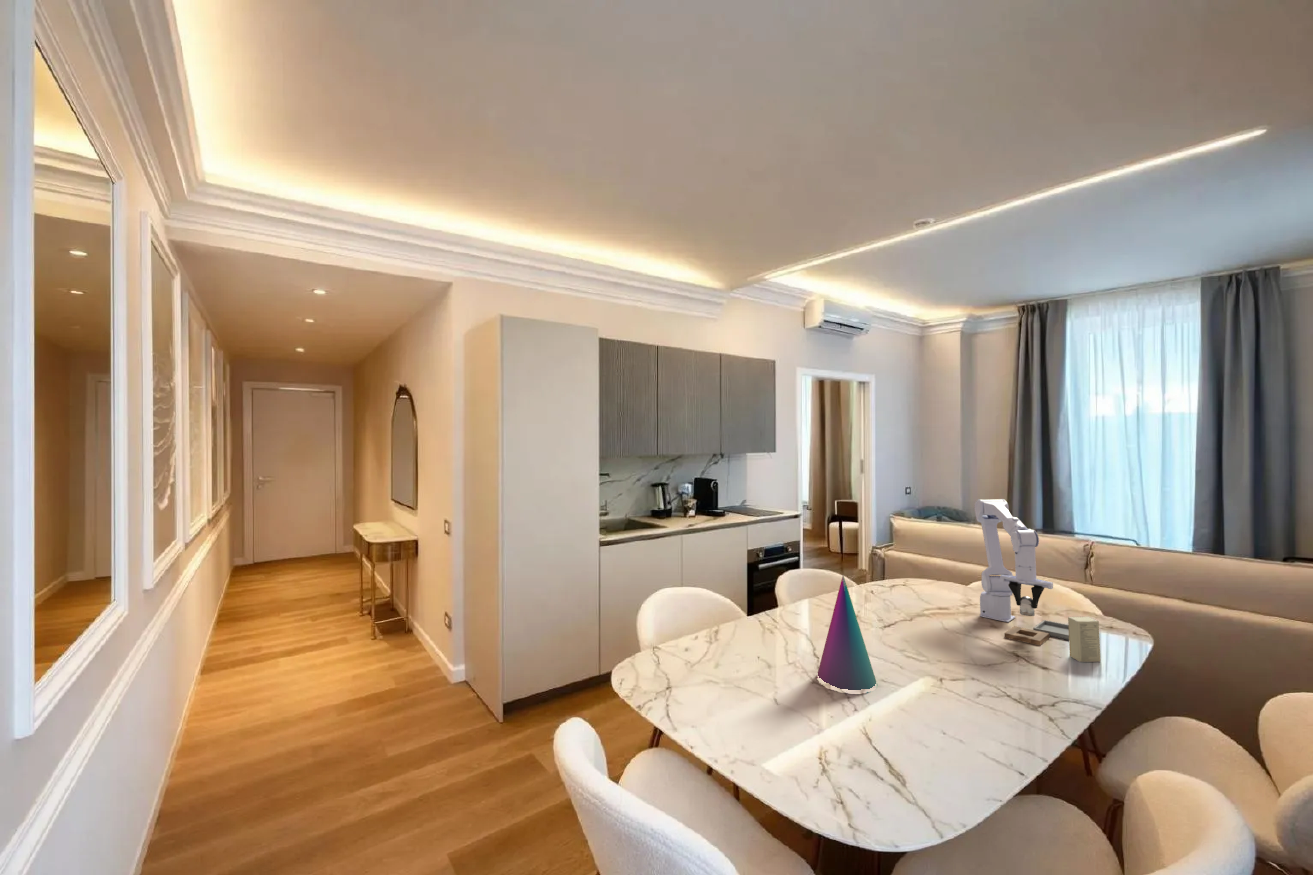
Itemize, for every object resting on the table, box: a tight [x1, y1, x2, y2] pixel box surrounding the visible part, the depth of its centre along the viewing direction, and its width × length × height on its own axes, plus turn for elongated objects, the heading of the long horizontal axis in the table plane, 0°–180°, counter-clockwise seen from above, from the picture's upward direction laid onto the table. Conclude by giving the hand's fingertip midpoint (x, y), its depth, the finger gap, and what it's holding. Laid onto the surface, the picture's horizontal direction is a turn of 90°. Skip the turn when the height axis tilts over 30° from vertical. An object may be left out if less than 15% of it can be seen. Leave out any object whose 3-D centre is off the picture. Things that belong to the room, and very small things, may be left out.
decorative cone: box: [817, 574, 877, 690], centre depth 148 cm, size 16×16×30 cm
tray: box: [1032, 619, 1069, 641], centre depth 181 cm, size 12×12×2 cm
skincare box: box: [1067, 616, 1101, 663], centre depth 159 cm, size 6×4×12 cm
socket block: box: [1003, 625, 1050, 646], centre depth 177 cm, size 10×10×2 cm
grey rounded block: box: [1019, 595, 1035, 617], centre depth 177 cm, size 4×4×6 cm
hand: (1026, 606), depth 177 cm, fingers closed on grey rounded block, 4 cm apart
